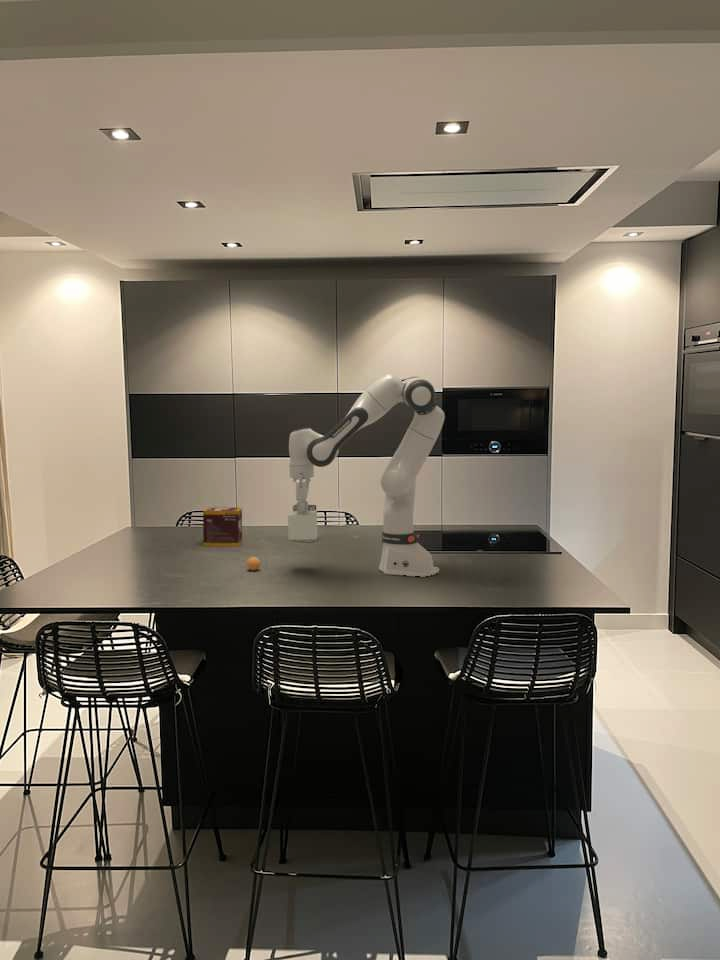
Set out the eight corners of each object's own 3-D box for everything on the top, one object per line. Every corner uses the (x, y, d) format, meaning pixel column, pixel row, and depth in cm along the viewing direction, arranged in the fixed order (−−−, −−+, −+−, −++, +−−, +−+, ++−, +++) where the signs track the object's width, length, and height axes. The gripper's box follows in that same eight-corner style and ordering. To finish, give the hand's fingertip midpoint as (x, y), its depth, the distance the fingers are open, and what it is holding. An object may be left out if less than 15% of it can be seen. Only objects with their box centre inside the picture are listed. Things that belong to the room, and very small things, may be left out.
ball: (263, 569, 276) (263, 556, 275) (254, 572, 271) (254, 559, 271) (252, 568, 278) (252, 555, 278) (244, 570, 274) (243, 557, 273)
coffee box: (317, 540, 334) (317, 504, 332) (309, 542, 329) (309, 506, 327) (300, 538, 338) (299, 503, 337) (292, 540, 333) (292, 505, 331)
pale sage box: (317, 533, 279) (316, 500, 278) (316, 538, 269) (315, 503, 268) (290, 534, 279) (289, 500, 278) (288, 539, 269) (287, 504, 267)
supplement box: (238, 546, 319) (238, 510, 318) (203, 546, 320) (202, 510, 318) (243, 542, 330) (242, 507, 328) (208, 541, 330) (207, 507, 328)
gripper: (309, 475, 261) (310, 514, 263) (311, 469, 282) (312, 506, 283) (291, 475, 261) (292, 514, 263) (294, 470, 281) (295, 506, 283)
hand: (302, 510), depth 273 cm, fingers closed on pale sage box, 4 cm apart
